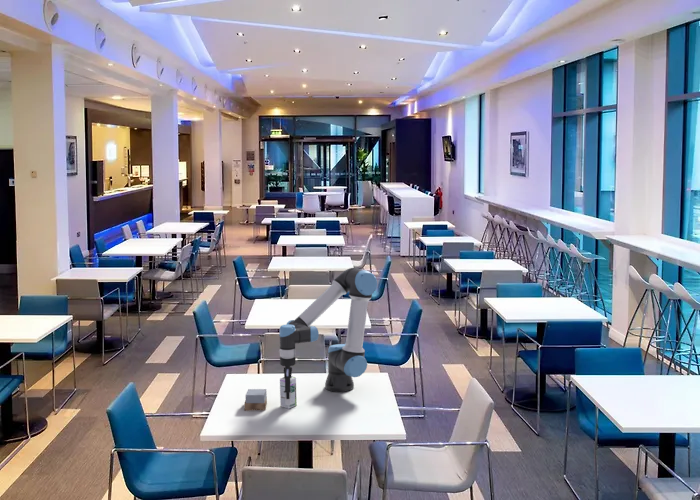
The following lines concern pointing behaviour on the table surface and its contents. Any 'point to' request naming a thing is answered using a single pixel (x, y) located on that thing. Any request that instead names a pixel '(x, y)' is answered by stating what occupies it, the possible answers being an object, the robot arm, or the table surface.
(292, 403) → the syrup box
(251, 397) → the slate top block
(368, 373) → the table surface
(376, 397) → the table surface
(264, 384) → the table surface
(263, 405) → the walnut base block
